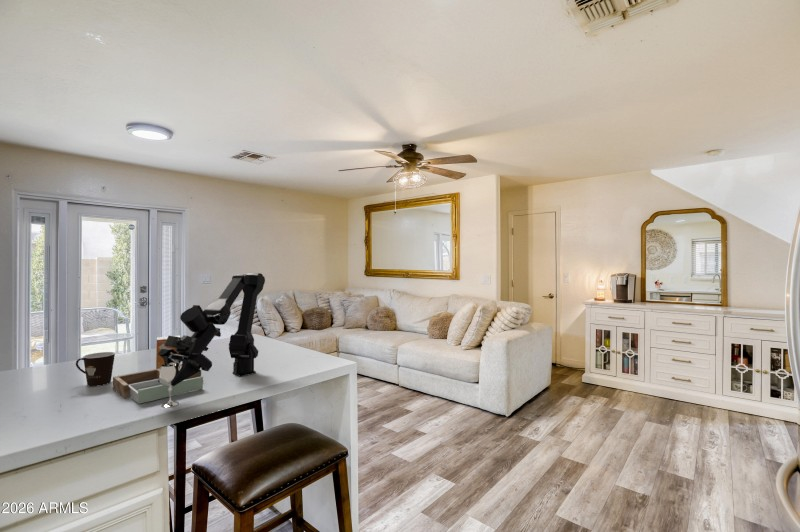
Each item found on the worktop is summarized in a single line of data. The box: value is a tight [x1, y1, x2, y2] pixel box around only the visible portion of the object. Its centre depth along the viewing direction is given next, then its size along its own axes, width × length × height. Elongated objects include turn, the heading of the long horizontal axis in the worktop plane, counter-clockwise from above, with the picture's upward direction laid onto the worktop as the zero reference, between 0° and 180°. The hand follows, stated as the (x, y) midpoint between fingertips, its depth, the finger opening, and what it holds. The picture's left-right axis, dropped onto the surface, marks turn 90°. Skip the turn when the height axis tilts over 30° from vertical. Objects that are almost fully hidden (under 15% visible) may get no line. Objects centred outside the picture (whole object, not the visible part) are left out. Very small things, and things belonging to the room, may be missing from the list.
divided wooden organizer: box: [112, 363, 202, 399], centre depth 128 cm, size 13×23×4 cm, turn 140°
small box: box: [155, 334, 181, 369], centre depth 146 cm, size 8×6×13 cm
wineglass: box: [159, 363, 181, 408], centre depth 111 cm, size 6×6×12 cm
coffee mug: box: [75, 351, 116, 387], centre depth 130 cm, size 12×9×10 cm
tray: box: [129, 375, 204, 404], centre depth 122 cm, size 13×18×4 cm
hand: (165, 383), depth 109 cm, fingers closed on wineglass, 6 cm apart
